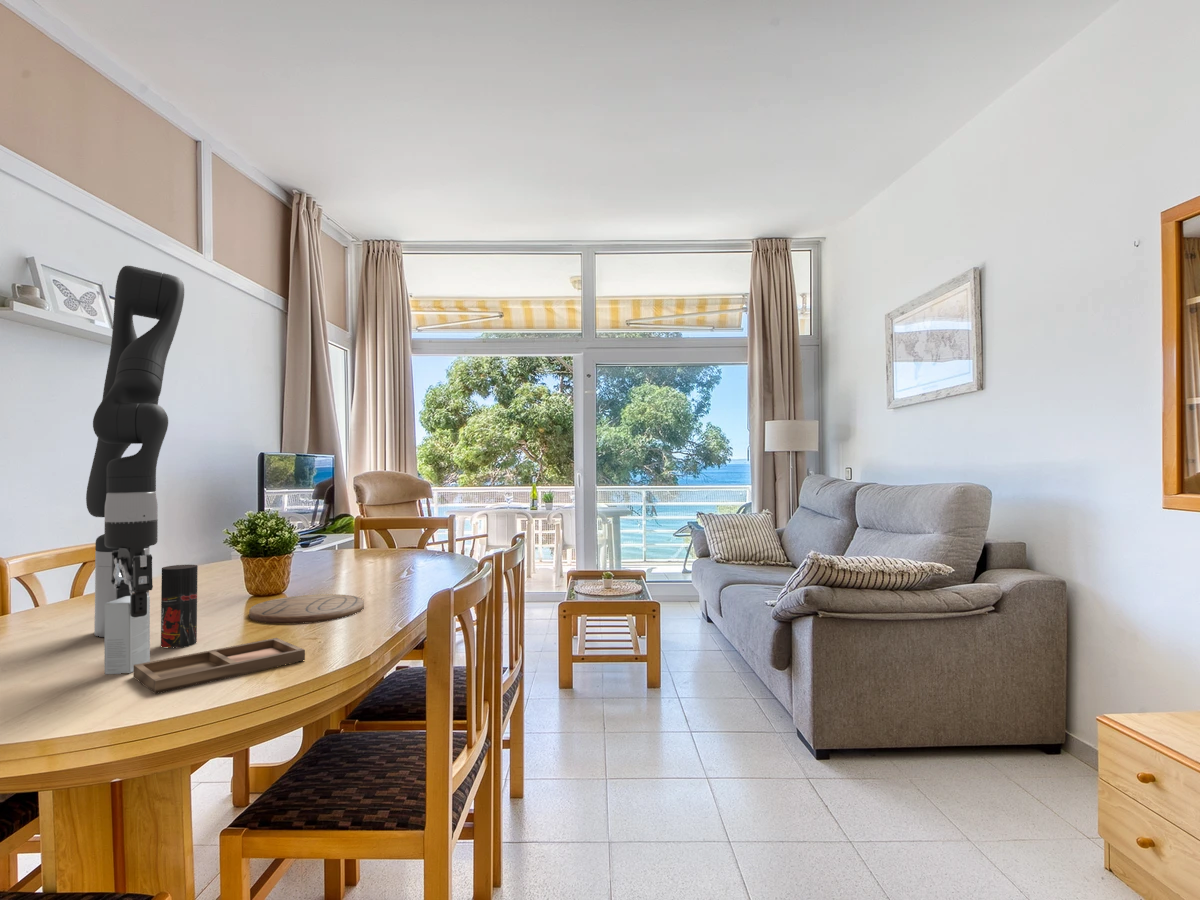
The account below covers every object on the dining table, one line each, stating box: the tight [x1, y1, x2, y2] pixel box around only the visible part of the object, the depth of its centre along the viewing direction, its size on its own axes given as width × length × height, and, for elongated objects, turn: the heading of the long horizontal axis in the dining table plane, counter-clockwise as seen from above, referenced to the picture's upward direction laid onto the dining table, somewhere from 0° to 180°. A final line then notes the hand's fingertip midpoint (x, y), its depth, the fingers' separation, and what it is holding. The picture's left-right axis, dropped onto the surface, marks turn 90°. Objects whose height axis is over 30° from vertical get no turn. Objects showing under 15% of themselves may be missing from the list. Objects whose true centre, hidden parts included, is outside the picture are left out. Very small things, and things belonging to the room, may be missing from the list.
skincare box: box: [103, 595, 151, 675], centre depth 116 cm, size 6×4×12 cm
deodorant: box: [160, 564, 199, 649], centre depth 131 cm, size 6×6×15 cm
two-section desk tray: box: [133, 637, 306, 695], centre depth 116 cm, size 12×23×2 cm, turn 138°
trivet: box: [248, 593, 365, 624], centre depth 160 cm, size 25×25×2 cm
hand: (131, 613), depth 116 cm, fingers open, 8 cm apart
